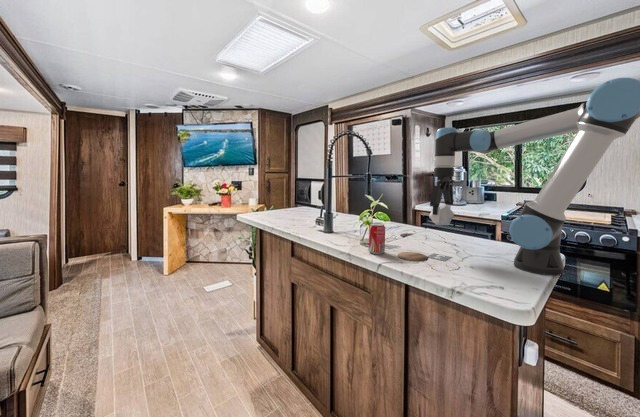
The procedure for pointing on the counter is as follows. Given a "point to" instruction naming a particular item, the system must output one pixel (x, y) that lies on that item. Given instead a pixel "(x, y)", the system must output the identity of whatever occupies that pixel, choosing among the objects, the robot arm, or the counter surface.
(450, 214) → the die
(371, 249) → the soda can
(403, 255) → the coaster
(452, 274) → the counter surface
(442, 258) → the tile
